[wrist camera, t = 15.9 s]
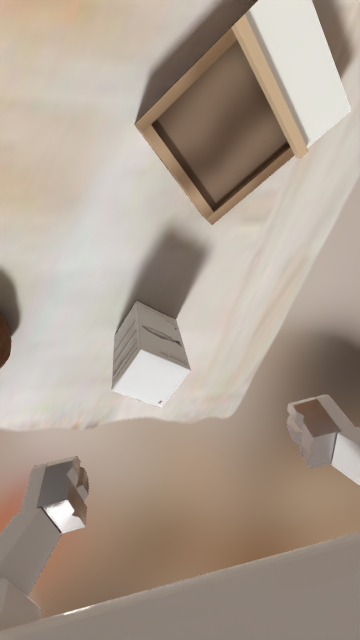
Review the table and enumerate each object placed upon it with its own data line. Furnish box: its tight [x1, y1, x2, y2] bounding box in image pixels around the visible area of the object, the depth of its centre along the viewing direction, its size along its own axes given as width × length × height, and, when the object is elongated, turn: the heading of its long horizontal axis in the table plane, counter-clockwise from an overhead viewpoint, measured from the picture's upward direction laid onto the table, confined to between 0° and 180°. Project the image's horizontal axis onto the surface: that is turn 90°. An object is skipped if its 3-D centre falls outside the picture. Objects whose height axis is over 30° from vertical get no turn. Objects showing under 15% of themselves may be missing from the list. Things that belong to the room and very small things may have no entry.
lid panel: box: [231, 0, 352, 158], centre depth 29 cm, size 13×7×2 cm, turn 39°
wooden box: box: [134, 28, 294, 225], centre depth 33 cm, size 13×18×5 cm
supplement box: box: [111, 301, 191, 408], centre depth 42 cm, size 7×7×13 cm
